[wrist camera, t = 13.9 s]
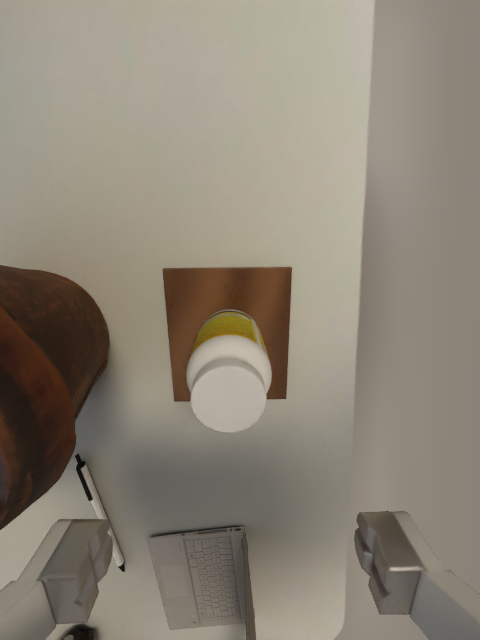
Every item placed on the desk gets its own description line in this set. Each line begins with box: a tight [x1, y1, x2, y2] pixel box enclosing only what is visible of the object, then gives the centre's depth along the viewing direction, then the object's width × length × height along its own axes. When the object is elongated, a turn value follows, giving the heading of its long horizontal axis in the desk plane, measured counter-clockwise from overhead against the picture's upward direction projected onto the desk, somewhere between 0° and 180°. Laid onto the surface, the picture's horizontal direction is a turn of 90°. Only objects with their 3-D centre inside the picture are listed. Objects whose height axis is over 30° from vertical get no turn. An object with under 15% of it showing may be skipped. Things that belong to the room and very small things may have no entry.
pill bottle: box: [186, 310, 272, 433], centre depth 22 cm, size 6×6×11 cm
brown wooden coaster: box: [163, 267, 292, 401], centre depth 27 cm, size 12×14×1 cm
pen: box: [75, 454, 125, 572], centre depth 33 cm, size 1×19×1 cm, turn 8°
